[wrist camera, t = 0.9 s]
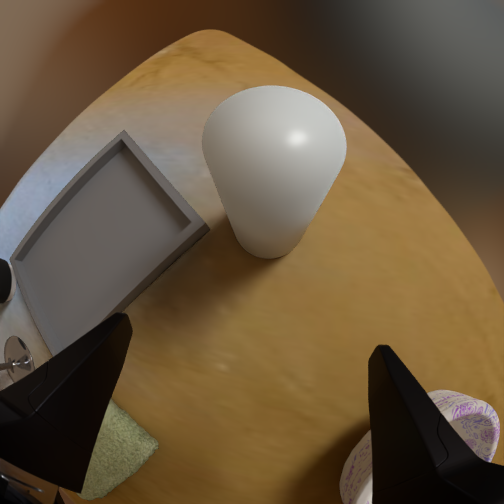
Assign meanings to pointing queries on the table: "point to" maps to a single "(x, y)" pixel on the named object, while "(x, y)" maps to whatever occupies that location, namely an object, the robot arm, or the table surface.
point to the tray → (102, 242)
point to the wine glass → (17, 359)
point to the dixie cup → (6, 281)
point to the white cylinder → (272, 164)
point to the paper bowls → (460, 418)
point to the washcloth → (116, 453)
